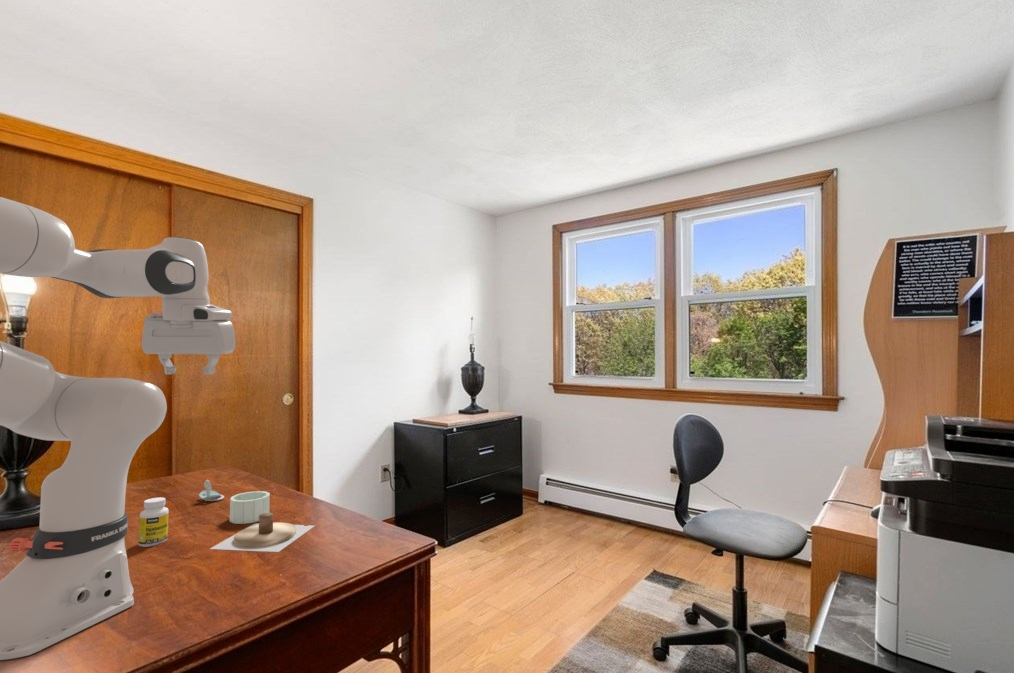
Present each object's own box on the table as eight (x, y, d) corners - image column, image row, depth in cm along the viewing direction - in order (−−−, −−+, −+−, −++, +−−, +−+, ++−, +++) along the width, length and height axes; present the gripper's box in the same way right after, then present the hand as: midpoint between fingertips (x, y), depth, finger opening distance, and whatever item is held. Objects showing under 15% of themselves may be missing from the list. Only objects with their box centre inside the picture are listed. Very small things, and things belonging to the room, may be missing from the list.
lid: (275, 548, 104) (276, 525, 104) (220, 546, 105) (220, 523, 106) (306, 527, 117) (306, 506, 117) (256, 525, 118) (257, 505, 118)
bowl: (255, 526, 119) (255, 501, 120) (221, 524, 120) (222, 500, 120) (276, 514, 128) (276, 491, 129) (244, 513, 129) (245, 490, 129)
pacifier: (220, 495, 146) (197, 499, 142) (221, 475, 146) (199, 478, 142) (227, 501, 141) (203, 504, 137) (228, 479, 141) (205, 482, 137)
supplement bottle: (142, 549, 105) (144, 504, 105) (134, 543, 108) (136, 500, 108) (171, 542, 109) (172, 499, 109) (163, 536, 112) (164, 494, 113)
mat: (278, 554, 102) (278, 551, 102) (209, 551, 104) (209, 548, 104) (315, 527, 118) (315, 525, 118) (254, 525, 120) (254, 523, 120)
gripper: (131, 312, 103) (135, 375, 104) (219, 312, 101) (221, 376, 102) (156, 312, 110) (159, 371, 111) (238, 311, 108) (241, 372, 108)
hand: (189, 374), depth 106 cm, fingers open, 8 cm apart
